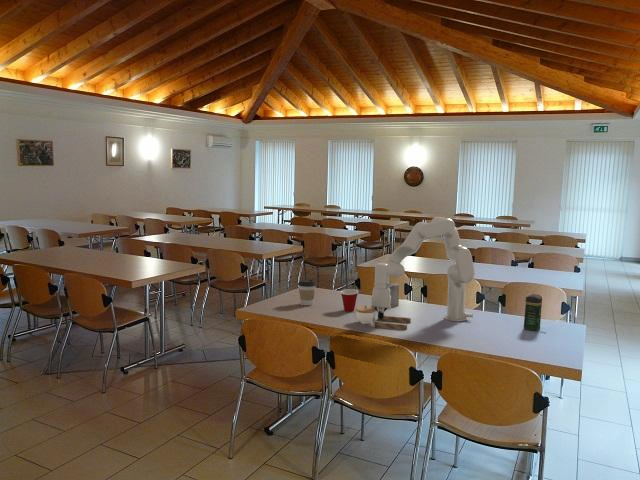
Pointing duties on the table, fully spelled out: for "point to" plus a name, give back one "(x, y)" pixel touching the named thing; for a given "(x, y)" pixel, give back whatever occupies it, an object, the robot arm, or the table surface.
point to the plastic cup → (349, 299)
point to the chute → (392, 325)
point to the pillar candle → (394, 294)
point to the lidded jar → (365, 314)
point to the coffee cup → (307, 291)
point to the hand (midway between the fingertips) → (380, 319)
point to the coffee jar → (533, 312)
